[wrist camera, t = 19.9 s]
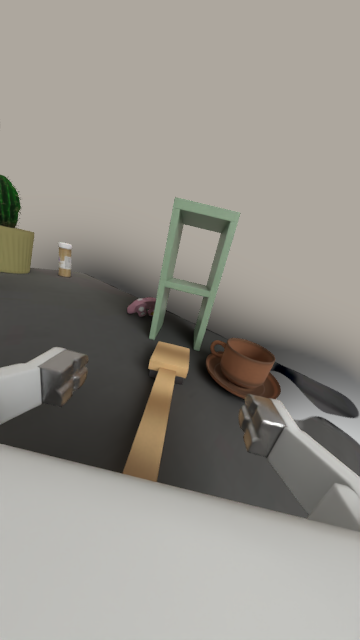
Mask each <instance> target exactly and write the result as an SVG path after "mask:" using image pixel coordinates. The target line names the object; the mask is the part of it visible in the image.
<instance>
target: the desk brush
mask: <svg viewBox="0 0 360 640" xmlns="http://www.w3.org/2000/svg"><path fill="white" fill-rule="evenodd" d="M189 352H190V349H189V348H184V347H180V346H176V345H172V344H168V343H164V342H160V341H159V342H158V344H157V346H156V348H155V350H154V352H153V354H152V356H151V358H150V362H149V367H148V369H150V372H149V377H153V378H156V379H155V382H154V385H153V388H152V391H151V393H150V396H149V399H148V402H147V405H146V408H145V411H144V413H143V416H142V419H141V422H140V425H139V428H138V431H137V433H136V436H135V439H134V442H133V445H132V448H131V450H130V453H129V456H128V459H127V462H126V465H125V468H124V470H123V473H122V474H126V475H130V476H134V477H138V478H142V479H146V480H150V481H154V482H157V478H158V472H159V466H160V461H161V455H162V449H163V444H164V438H165V432H166V427H167V421H168V415H169V410H170V404H171V398H172V393H173V387H174V383H177V384H182V383H183V379H184V378H186V376H187V372H188V368H189Z"/></svg>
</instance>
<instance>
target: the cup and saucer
mask: <svg viewBox="0 0 360 640" xmlns="http://www.w3.org/2000/svg"><path fill="white" fill-rule="evenodd" d="M216 344H220V345H222V346H223V347H224V348H225V350H224V352H215V350H214V346H215V345H216ZM210 349H211V352H212V353H211V354H210V355H208V357H207V359H206V367H207V370H208V372H209V373H210V375H211V376H212V378H213V379H214V380H215V381H216V382H217V383H218V384H219V385H220V386H221V387H223V388H224V389H225V390H227V391H228V392H230V393H232V394H234V395H236V396H238V397H240V398H243V399H245V397H246V395H247V394H252V395H256V396H261V397H265V398H271V399H276V398H277V397H278V396H279V395H280V392H281V389H280V385H279V383H278V382H277V380H276V379H275V377H274V376H273V375H272V374H271V373H270V370H271V368H272V366H273V364H274V362H275V357H274V355H273V354H272V353H271V352H270V351H268V350H267V349H265V348H264V347H262V346H260V345H257V344H256V343H253V342H250V341H248V340H244V339H239V338H231V339H229V340H228V341H227V344H225V343H224V342H222V341H218V340H217V341H214V342H213V343H212V344H211V347H210Z"/></svg>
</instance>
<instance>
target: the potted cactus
mask: <svg viewBox="0 0 360 640" xmlns="http://www.w3.org/2000/svg"><path fill="white" fill-rule="evenodd" d="M20 207H21V206H20V202H19V197H18V193H17V191H16V190H15V188H14V187H13V186H12V183H11V182H10V181H9V180H8V179H7V178H6V177H4V176H2V175H0V272H6V273H29V271H30V264H31V256H32V248H33V241H34V232H30V231H25V230H21V229H17V228H15V226H16V224H17V221H18V212H19V210H20Z"/></svg>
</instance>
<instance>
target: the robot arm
mask: <svg viewBox="0 0 360 640" xmlns="http://www.w3.org/2000/svg"><path fill="white" fill-rule="evenodd" d="M87 363H88V356H87V355H86V354H83V353H79V352H75V351H72V350H68V349H64V348H60V347H54V348H52V349H50V350H49V351H47V352H45V353H43V354H41V355H40V356H38V357H36V358H34V359H33V360H31V361H29V362H27V363H25V364H23V363H20V364H15V365H10V366H6V367H1V368H0V424H2V423H4V422H6V421H8V420H10V419H12V418H14V417H16V416H18V415H21V414H23V413H25V412H27V411H29V410H31V409H33V408H35V407H37V406H39V405H41V404H42V403H45V404H50V405H54V406H59V407H62V406H63V405H64V404H65V403H66V402H67V401H68V400H69V399H70V397H71V396H72V391H75V390H77V389H79V388H80V387H81V386H82V385H83V383H84V381H85V380H86V377H87V372H88V369H87V368H86V366H85V365H86V364H87ZM244 401H245V403H246V404H245V405H243V406H242V407H241V408H240V411H239V425H240V428H241V429H242V430H243V432H244V433H245V434H244V436H243V439H244V442H245V445H246V449H247V452H248V453H252V454H256V455H259V456H263V457H266V458H267V460H268V461H269V462H270V464H271V465H272V466H273V468H274V469H275V470H276V472H277V473H278V474H279V476H280V477H281V479H282V480H283V481H284V483H285V484H286V485H287V487H288V488H289V489H290V491H291V492H292V493H293V495H294V496H295V497H296V499H297V500H298V501H299V503H300V504H301V506H302V507H303V508H304V510H305V511H306V512H307V514H308V515H309V516H308V517H307V518H306V519H305V518H301V517H297V516H293V515H289V514H285V513H281V512H277V511H273V510H269V509H265V508H261V507H256V506H252V505H248V504H244V503H240V502H236V501H232V500H228V499H224V498H220V497H215V496H211V495H207V494H203V493H199V492H195V491H191V490H187V489H183V488H179V487H174V486H170V485H166V484H162V483H158V482H154V481H150V480H146V479H142V478H138V477H134V476H130V475H126V474H122V473H118V472H113V471H109V470H105V469H101V468H97V467H93V466H89V465H85V464H81V463H77V462H73V461H69V460H65V459H61V458H57V457H53V456H48V455H44V454H40V453H36V452H32V451H28V450H24V449H20V448H16V447H12V446H8V445H4V444H0V640H360V477H359V476H358V475H356V474H355V473H354V472H353V471H352V470H350V469H349V468H348V467H347V466H345V465H344V464H343V463H342V462H341V461H339V460H338V459H337V458H336V457H334V456H333V455H332V454H331V453H330V452H328V451H327V450H326V449H325V448H324V447H322V446H321V445H320V444H319V443H317V442H316V441H315V440H314V439H313V438H311V437H310V436H309V435H308V434H306V433H305V432H304V431H300V429H299V428H298V426H297V425H296V423H295V422H294V420H293V419H292V417H291V416H290V414H289V413H288V411H287V410H286V408H285V407H284V405H283V404H282V402H281V401H279V400H276V399H271V398H265V397H261V396H256V395H252V394H247V395H246V397H245V399H244Z"/></svg>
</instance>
